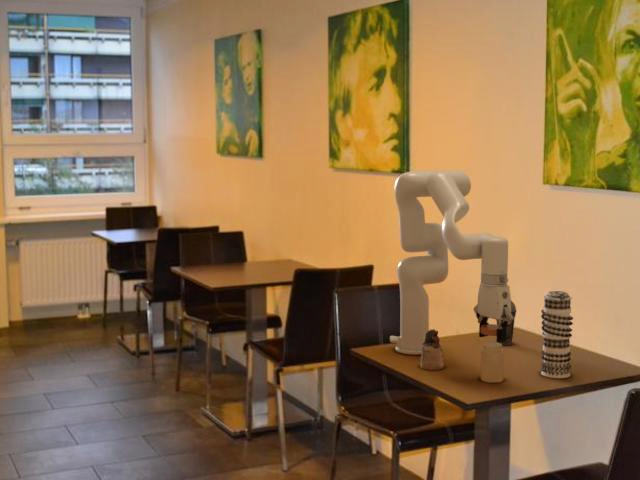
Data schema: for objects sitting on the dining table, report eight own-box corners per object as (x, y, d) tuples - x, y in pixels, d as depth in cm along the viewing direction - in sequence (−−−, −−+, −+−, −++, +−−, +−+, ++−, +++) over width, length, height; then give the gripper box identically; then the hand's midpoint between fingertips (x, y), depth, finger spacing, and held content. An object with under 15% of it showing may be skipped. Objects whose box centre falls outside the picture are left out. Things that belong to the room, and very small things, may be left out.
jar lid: (509, 334, 261) (509, 328, 260) (491, 337, 257) (492, 330, 257) (493, 329, 266) (493, 323, 266) (475, 332, 263) (476, 325, 262)
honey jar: (477, 381, 262) (478, 345, 260) (484, 375, 268) (484, 340, 266) (500, 383, 259) (500, 348, 258) (505, 378, 265) (506, 343, 263)
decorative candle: (535, 370, 272) (537, 290, 269) (564, 369, 273) (567, 289, 270) (545, 379, 263) (547, 295, 260) (576, 378, 264) (578, 294, 261)
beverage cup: (502, 340, 312) (503, 283, 310) (520, 343, 307) (521, 286, 304) (489, 343, 307) (490, 286, 305) (507, 347, 302) (508, 289, 299)
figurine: (437, 363, 282) (437, 326, 280) (447, 368, 275) (448, 330, 274) (416, 365, 279) (417, 327, 278) (427, 371, 273) (427, 332, 271)
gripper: (524, 282, 254) (522, 343, 257) (483, 273, 269) (482, 331, 271) (505, 285, 250) (503, 347, 253) (464, 276, 265) (463, 334, 267)
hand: (492, 338), depth 262 cm, fingers closed on jar lid, 6 cm apart
